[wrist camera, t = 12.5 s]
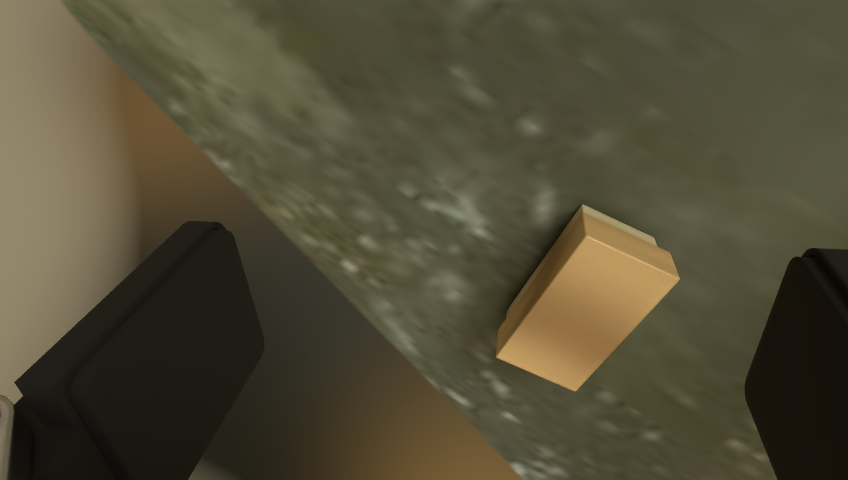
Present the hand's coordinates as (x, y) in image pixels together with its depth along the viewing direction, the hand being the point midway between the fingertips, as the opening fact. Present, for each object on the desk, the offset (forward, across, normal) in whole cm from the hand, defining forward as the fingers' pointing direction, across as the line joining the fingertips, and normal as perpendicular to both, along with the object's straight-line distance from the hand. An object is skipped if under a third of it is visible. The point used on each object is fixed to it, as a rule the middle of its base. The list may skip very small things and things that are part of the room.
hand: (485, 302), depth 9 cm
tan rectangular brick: (+15, -3, +10) cm, 19 cm away
